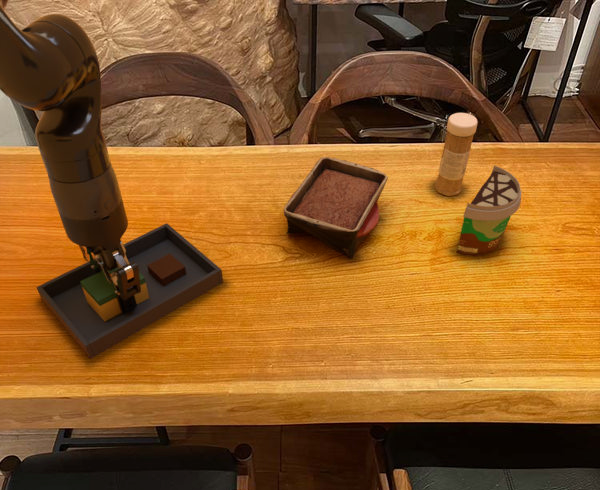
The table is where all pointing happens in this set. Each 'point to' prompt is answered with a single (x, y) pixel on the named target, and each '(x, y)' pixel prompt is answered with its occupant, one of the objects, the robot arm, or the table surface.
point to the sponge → (107, 295)
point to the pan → (162, 300)
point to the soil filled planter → (337, 203)
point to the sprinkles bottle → (455, 153)
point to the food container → (489, 214)
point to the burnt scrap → (166, 269)
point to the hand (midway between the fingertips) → (119, 298)
